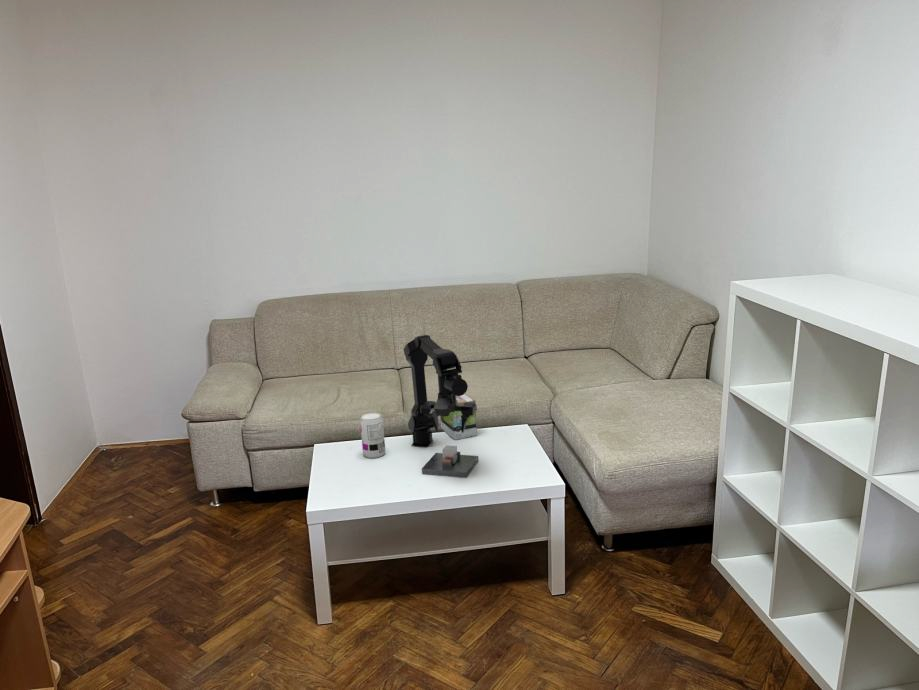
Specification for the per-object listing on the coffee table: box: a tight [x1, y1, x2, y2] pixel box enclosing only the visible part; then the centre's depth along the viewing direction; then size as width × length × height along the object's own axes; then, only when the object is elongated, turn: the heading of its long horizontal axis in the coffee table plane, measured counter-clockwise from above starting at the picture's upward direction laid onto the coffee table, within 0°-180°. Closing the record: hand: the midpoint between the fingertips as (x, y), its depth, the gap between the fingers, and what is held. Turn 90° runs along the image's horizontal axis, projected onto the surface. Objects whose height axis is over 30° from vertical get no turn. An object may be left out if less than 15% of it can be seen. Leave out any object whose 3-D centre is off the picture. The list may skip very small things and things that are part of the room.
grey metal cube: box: [441, 444, 458, 464], centre depth 249 cm, size 4×4×5 cm
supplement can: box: [359, 412, 386, 459], centre depth 264 cm, size 8×8×15 cm
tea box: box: [440, 392, 478, 440], centre depth 281 cm, size 15×10×15 cm
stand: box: [421, 451, 480, 479], centre depth 250 cm, size 16×14×4 cm
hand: (450, 431), depth 247 cm, fingers open, 9 cm apart
